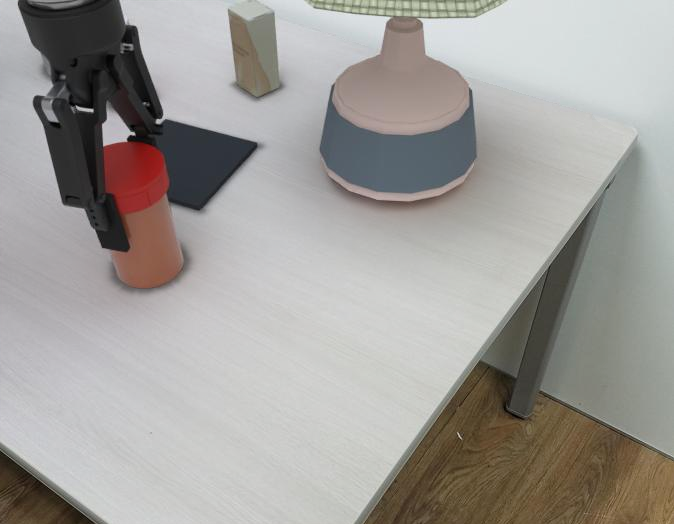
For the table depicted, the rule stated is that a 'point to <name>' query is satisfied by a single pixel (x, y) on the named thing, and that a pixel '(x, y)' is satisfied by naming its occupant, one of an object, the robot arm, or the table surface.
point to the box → (254, 46)
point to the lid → (134, 175)
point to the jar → (149, 247)
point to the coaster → (199, 161)
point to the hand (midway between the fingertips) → (136, 218)
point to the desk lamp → (401, 108)
